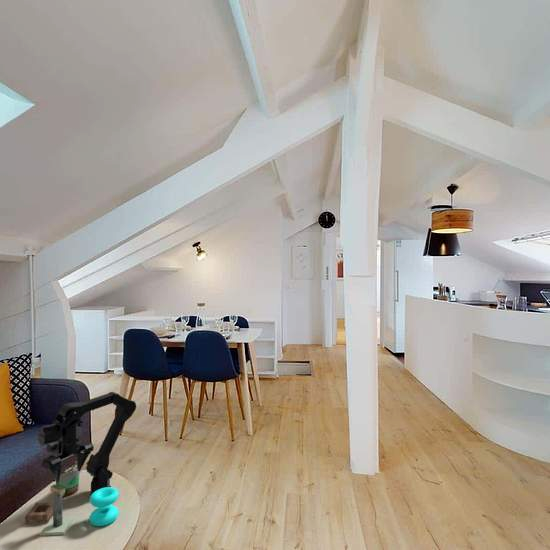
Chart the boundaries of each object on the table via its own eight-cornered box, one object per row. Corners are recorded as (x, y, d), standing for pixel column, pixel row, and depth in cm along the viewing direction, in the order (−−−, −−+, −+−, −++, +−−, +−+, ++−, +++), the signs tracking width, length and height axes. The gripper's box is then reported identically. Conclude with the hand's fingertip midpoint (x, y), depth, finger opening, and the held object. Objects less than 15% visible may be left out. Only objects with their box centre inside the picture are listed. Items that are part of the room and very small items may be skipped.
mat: (73, 520, 144) (73, 517, 144) (63, 534, 136) (63, 531, 136) (51, 521, 144) (51, 518, 144) (40, 535, 136) (40, 532, 136)
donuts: (114, 499, 141) (85, 501, 140) (113, 527, 141) (85, 528, 140) (122, 485, 151) (95, 486, 150) (121, 510, 151) (95, 511, 150)
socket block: (57, 509, 151) (57, 502, 151) (47, 522, 143) (47, 514, 143) (36, 510, 150) (36, 502, 150) (24, 523, 142) (24, 515, 142)
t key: (48, 524, 140) (48, 487, 140) (56, 520, 143) (56, 483, 143) (59, 529, 137) (59, 491, 137) (67, 524, 140) (66, 487, 140)
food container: (67, 501, 156) (67, 477, 156) (54, 499, 157) (54, 475, 157) (87, 485, 168) (88, 462, 168) (75, 483, 169) (75, 461, 169)
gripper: (76, 424, 165) (76, 461, 165) (32, 441, 148) (32, 482, 148) (94, 429, 160) (94, 467, 160) (51, 447, 143) (50, 489, 143)
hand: (68, 476), depth 153 cm, fingers open, 9 cm apart
